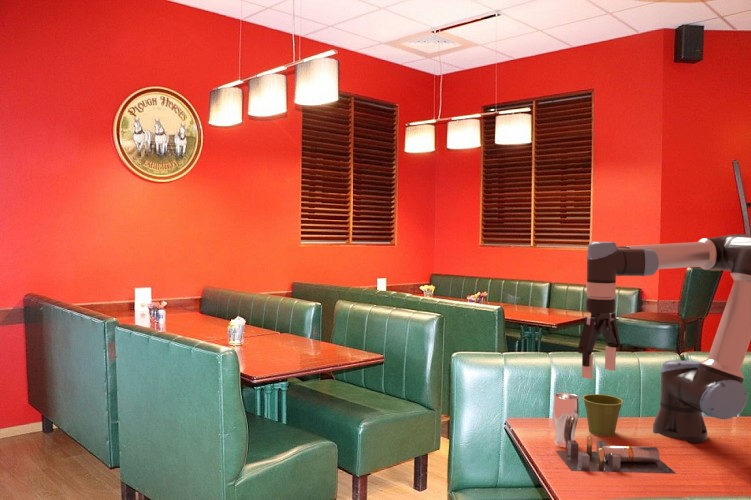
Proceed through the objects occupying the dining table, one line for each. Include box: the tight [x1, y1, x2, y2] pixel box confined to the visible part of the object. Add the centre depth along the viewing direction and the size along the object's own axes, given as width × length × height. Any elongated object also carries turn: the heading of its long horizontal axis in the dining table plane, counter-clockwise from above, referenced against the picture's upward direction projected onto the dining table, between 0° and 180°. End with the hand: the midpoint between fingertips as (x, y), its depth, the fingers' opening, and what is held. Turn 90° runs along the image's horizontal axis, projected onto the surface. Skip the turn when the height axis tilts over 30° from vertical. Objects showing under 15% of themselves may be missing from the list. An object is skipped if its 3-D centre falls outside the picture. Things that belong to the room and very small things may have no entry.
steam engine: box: [555, 435, 677, 475], centre depth 165 cm, size 27×14×6 cm, turn 90°
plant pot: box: [581, 393, 624, 437], centre depth 189 cm, size 12×12×11 cm
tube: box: [602, 445, 661, 463], centre depth 165 cm, size 14×4×4 cm, turn 90°
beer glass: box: [552, 392, 580, 449], centre depth 177 cm, size 7×7×15 cm
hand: (598, 373), depth 171 cm, fingers open, 13 cm apart
